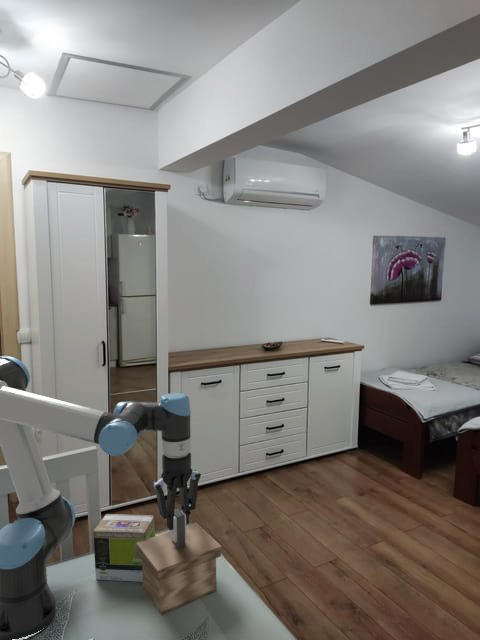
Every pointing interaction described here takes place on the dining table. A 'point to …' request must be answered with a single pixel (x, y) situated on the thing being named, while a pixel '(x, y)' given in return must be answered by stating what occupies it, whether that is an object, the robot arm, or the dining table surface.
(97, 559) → the tea box
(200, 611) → the dining table surface
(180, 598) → the wooden box
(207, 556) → the lid
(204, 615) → the dining table surface
